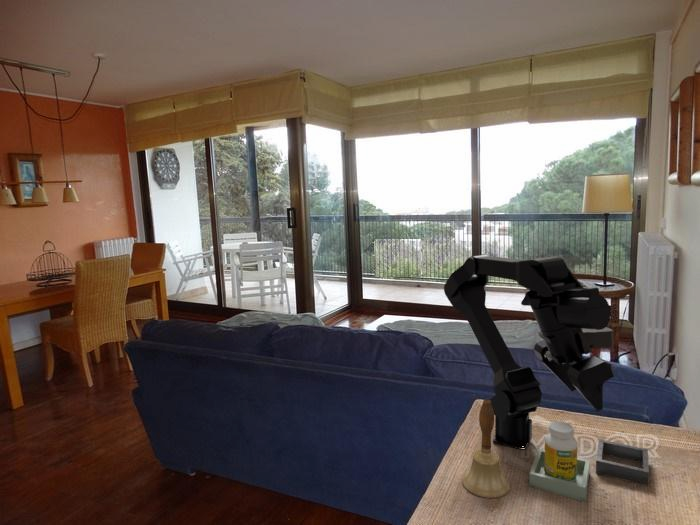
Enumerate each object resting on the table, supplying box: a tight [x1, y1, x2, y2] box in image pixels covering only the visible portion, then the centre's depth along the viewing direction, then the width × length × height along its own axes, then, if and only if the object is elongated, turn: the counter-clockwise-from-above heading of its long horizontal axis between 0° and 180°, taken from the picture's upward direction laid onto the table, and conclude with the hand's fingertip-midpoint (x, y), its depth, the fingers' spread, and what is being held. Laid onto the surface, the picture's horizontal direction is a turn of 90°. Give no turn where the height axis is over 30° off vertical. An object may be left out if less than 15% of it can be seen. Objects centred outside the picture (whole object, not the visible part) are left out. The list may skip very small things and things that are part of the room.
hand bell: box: [461, 399, 511, 499], centre depth 83 cm, size 8×8×16 cm
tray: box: [528, 448, 591, 502], centre depth 84 cm, size 9×9×2 cm
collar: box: [595, 439, 650, 486], centre depth 87 cm, size 8×8×2 cm
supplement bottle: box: [544, 420, 579, 482], centre depth 84 cm, size 5×5×10 cm
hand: (586, 399), depth 87 cm, fingers open, 9 cm apart
